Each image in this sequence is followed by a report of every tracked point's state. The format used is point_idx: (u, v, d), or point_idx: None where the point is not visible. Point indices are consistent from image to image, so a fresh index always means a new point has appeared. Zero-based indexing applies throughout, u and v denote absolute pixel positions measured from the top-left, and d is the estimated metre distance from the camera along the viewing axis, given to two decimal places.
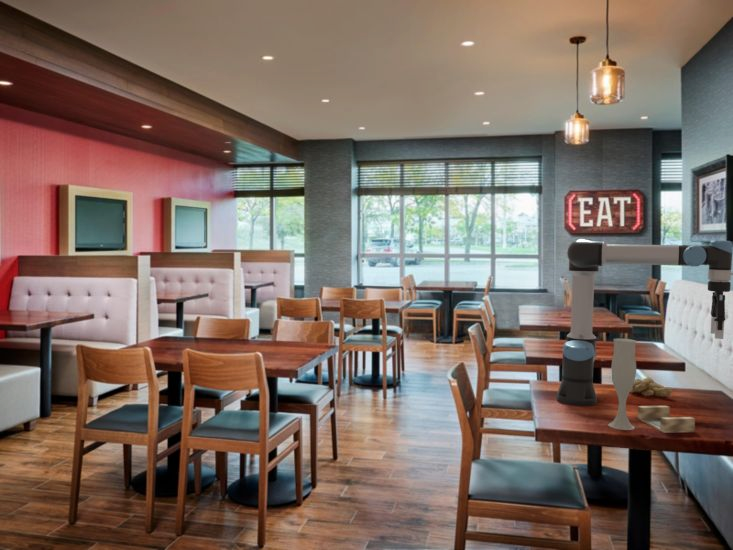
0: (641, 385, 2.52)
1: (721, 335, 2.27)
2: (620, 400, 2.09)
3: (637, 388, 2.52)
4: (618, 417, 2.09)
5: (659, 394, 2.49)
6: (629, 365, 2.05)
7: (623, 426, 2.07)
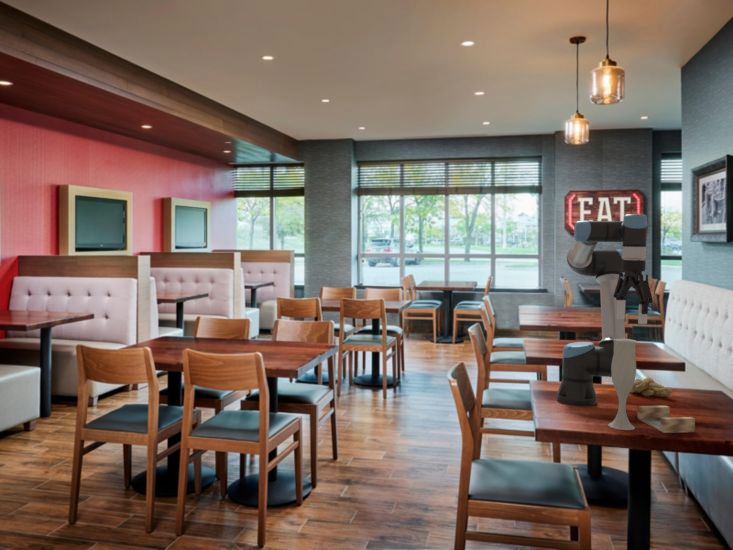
0: (641, 385, 2.51)
1: (645, 320, 2.02)
2: (620, 400, 2.09)
3: (637, 388, 2.52)
4: (618, 417, 2.09)
5: (659, 394, 2.49)
6: (629, 365, 2.05)
7: (623, 426, 2.07)
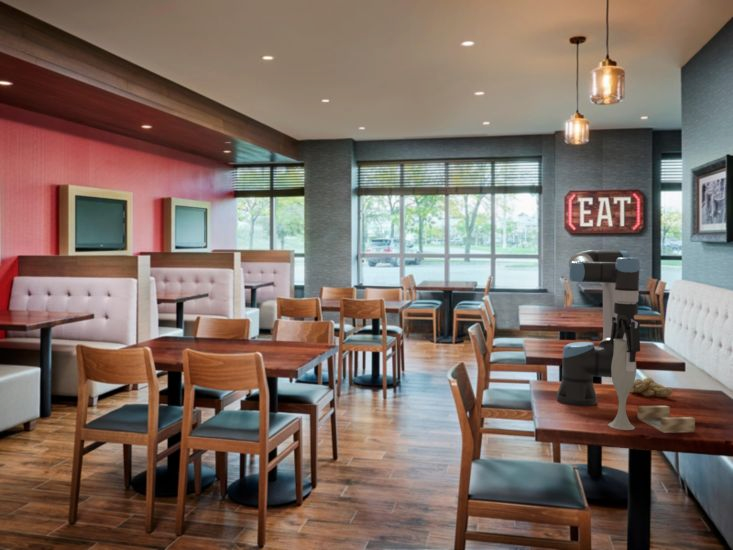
0: (641, 385, 2.51)
1: (633, 367, 2.05)
2: (620, 400, 2.09)
3: (637, 388, 2.52)
4: (618, 417, 2.09)
5: (659, 394, 2.49)
6: None
7: (623, 426, 2.07)
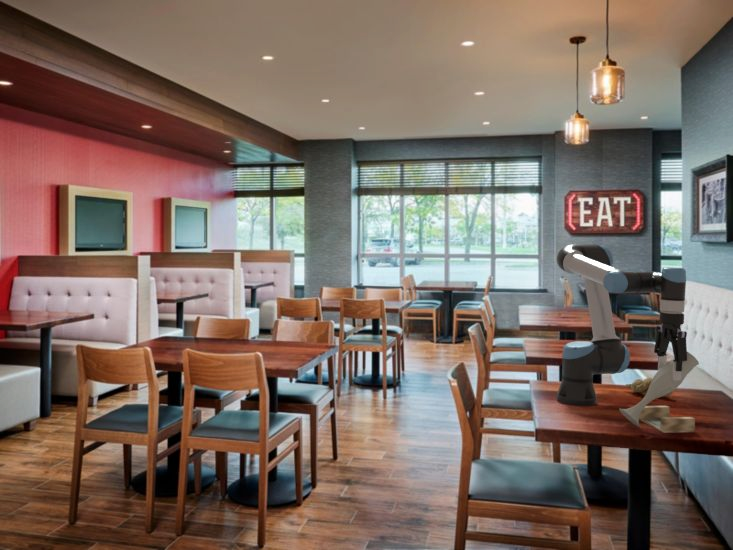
0: (642, 385, 2.51)
1: (679, 376, 2.07)
2: (647, 397, 2.10)
3: (638, 388, 2.52)
4: (634, 408, 2.10)
5: None
6: None
7: (634, 417, 2.07)
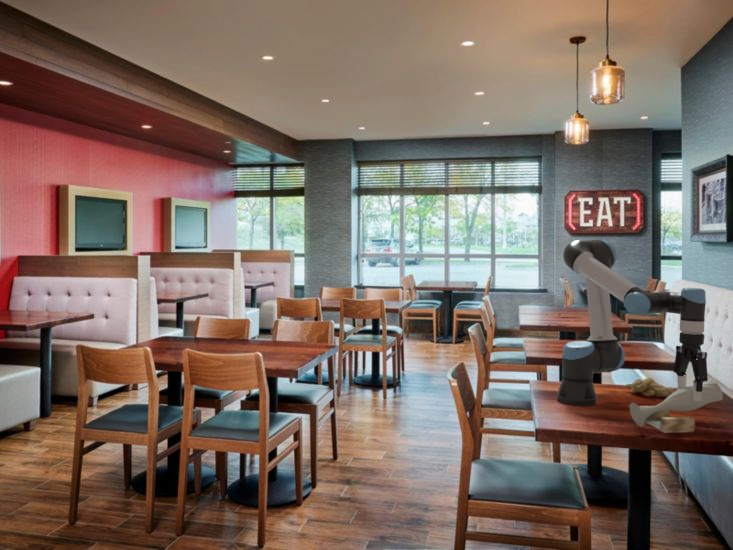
0: (642, 385, 2.51)
1: (699, 397, 2.08)
2: (661, 404, 2.11)
3: (638, 388, 2.52)
4: (645, 408, 2.10)
5: (660, 394, 2.48)
6: (701, 399, 2.09)
7: (643, 414, 2.07)
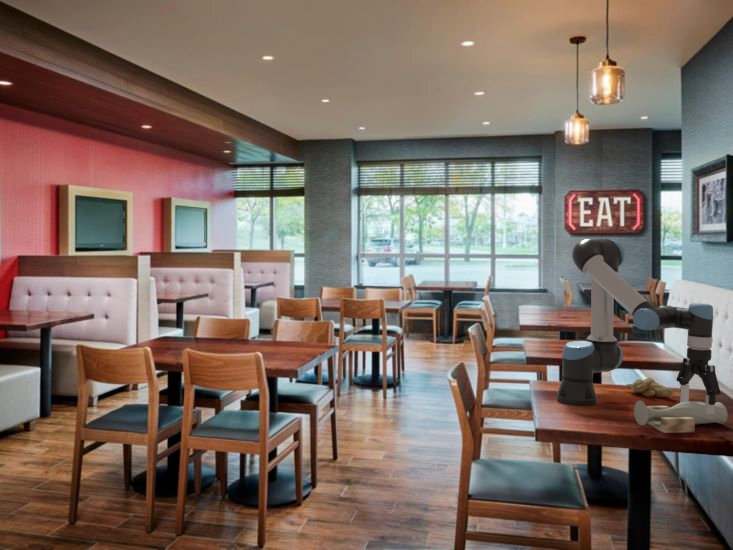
0: (642, 385, 2.51)
1: (712, 410, 2.06)
2: (666, 410, 2.12)
3: (638, 388, 2.52)
4: (650, 408, 2.11)
5: (660, 394, 2.48)
6: None
7: (647, 411, 2.09)
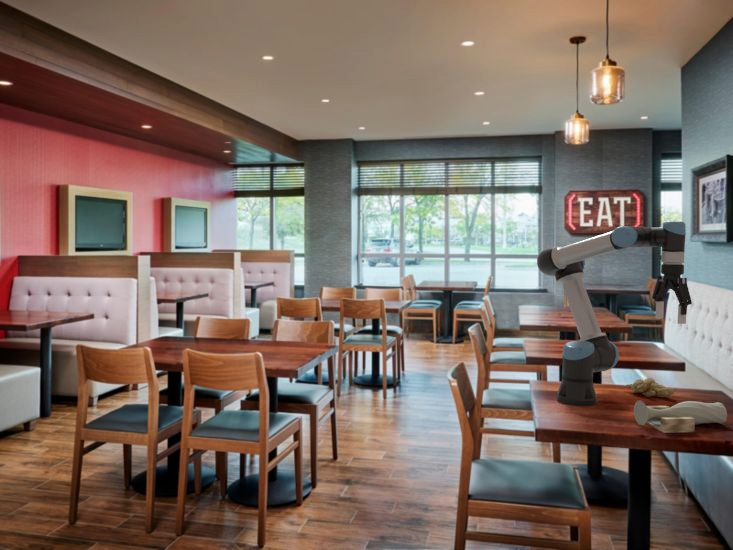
0: (643, 385, 2.51)
1: (684, 320, 2.17)
2: (666, 409, 2.12)
3: (639, 388, 2.52)
4: (650, 408, 2.12)
5: (661, 394, 2.48)
6: (705, 412, 2.11)
7: (647, 410, 2.09)
